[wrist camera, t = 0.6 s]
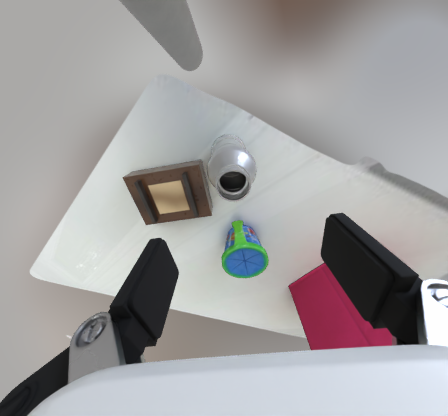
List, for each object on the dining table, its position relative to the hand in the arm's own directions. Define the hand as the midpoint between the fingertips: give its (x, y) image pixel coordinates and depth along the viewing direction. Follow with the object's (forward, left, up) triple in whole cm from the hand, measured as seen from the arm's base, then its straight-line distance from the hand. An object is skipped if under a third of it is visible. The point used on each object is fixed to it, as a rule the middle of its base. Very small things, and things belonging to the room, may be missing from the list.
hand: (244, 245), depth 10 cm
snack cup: (+23, 0, -29) cm, 37 cm away
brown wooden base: (+7, -14, -29) cm, 33 cm away
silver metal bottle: (0, 0, -29) cm, 29 cm away
